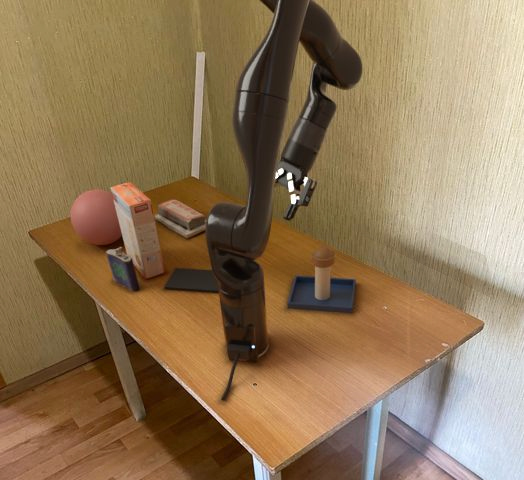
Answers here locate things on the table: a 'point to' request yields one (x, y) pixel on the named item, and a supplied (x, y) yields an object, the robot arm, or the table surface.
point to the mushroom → (322, 271)
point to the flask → (122, 269)
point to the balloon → (96, 217)
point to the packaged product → (181, 218)
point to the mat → (192, 280)
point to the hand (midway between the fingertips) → (273, 212)
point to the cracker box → (138, 229)
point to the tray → (337, 302)
